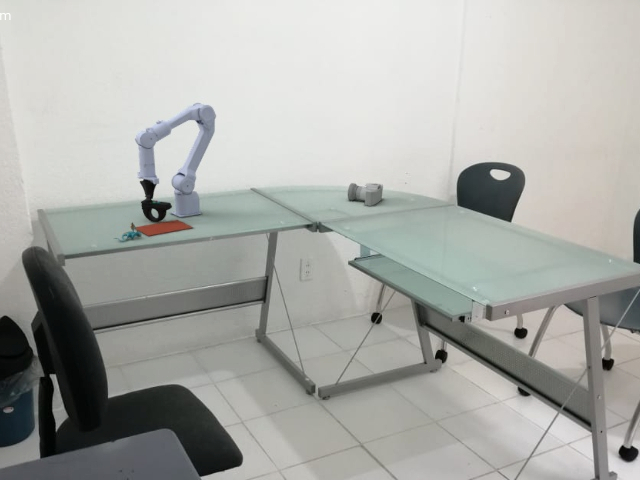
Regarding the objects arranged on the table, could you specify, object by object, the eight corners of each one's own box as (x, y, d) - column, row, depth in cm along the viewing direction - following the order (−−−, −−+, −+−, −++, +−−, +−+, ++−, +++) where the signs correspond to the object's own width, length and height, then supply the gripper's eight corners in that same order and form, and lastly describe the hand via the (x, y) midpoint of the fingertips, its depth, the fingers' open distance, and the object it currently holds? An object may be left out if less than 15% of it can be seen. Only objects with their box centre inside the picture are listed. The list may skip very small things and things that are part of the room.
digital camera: (359, 203, 281) (362, 181, 279) (386, 207, 273) (389, 185, 271) (341, 202, 268) (344, 179, 266) (369, 206, 260) (373, 182, 258)
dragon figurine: (132, 241, 207) (144, 227, 212) (113, 232, 207) (125, 218, 212) (131, 253, 212) (142, 239, 217) (112, 244, 212) (124, 230, 217)
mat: (177, 220, 236) (177, 219, 235) (192, 228, 227) (192, 227, 227) (134, 228, 225) (134, 227, 225) (148, 236, 217) (148, 235, 216)
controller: (146, 218, 237) (144, 193, 233) (174, 221, 234) (172, 196, 230) (140, 221, 234) (138, 196, 229) (169, 225, 230) (167, 199, 226)
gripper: (129, 161, 232) (132, 196, 237) (145, 168, 222) (148, 204, 227) (146, 160, 236) (148, 194, 241) (163, 166, 226) (165, 201, 231)
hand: (149, 199), depth 234 cm, fingers closed
